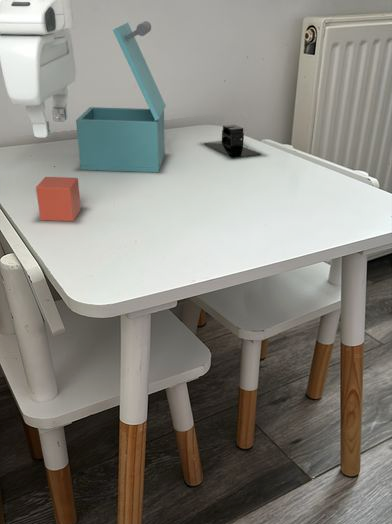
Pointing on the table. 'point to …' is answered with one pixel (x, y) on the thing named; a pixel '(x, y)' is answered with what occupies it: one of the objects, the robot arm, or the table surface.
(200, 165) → the table surface
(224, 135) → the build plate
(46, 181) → the red cube
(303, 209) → the table surface
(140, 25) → the freezer lid
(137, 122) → the box
